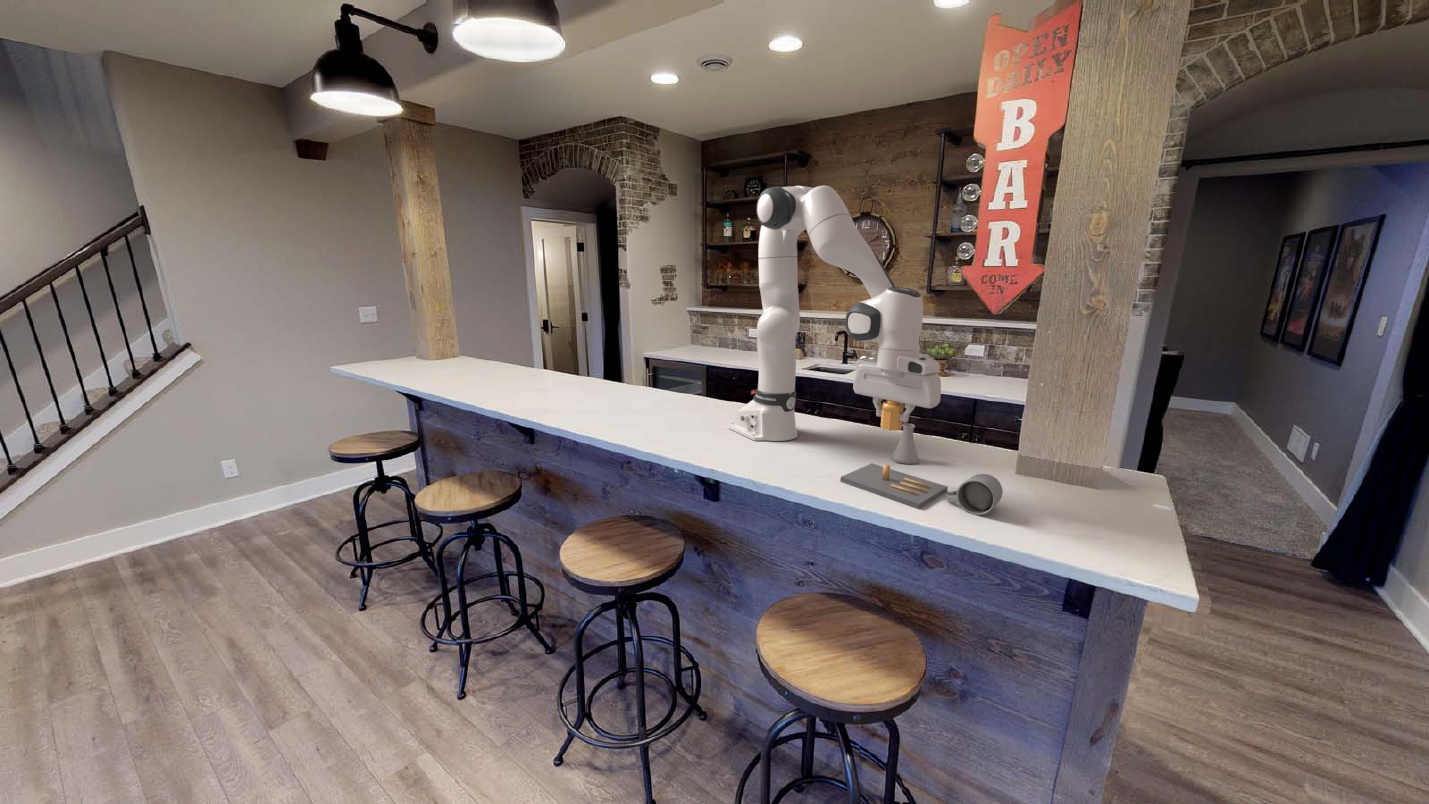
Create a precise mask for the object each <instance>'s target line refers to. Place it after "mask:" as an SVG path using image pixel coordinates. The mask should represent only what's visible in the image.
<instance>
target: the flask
mask: <svg viewBox="0 0 1429 804" xmlns="http://www.w3.org/2000/svg"><path fill="white" fill-rule="evenodd" d="M915 428H916V425H915V424H913V423H908V422H906V423H902V432H901V433H902V434H901V437H900V439H899V441H898V443H897V446H896V447H895V450H894V452H893V454H892V456H891V460H893V461H894V462H896V463H899V464H904V465H905V464H907V465H913V464H914V465H915V464H919V461H920V460H919V456H918V452H917V449H916V444H915V439H914V429H915Z"/></svg>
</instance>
